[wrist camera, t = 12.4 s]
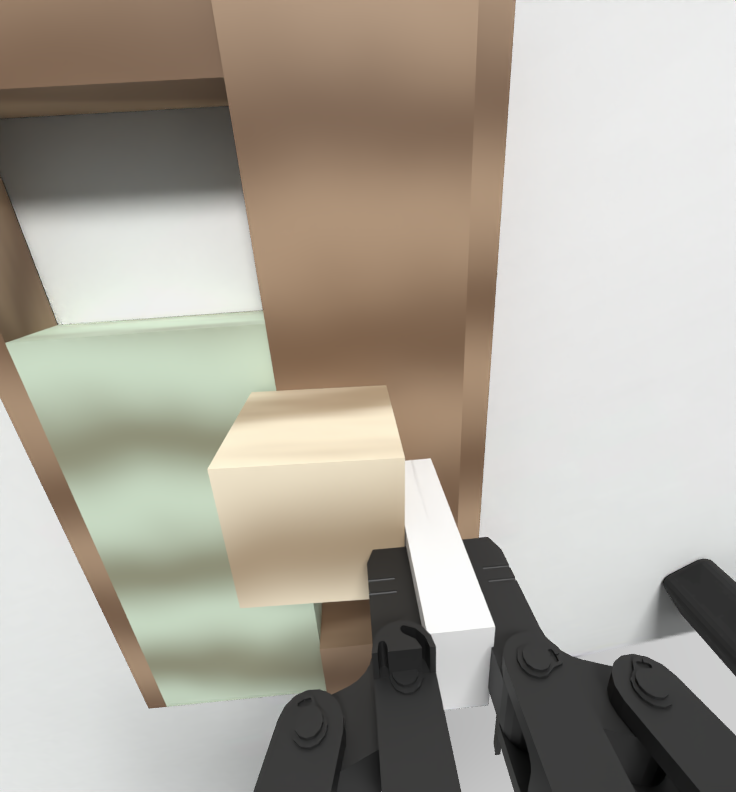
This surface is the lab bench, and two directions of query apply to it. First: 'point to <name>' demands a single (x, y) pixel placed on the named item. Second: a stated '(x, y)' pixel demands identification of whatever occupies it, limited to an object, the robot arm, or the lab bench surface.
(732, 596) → the walkie-talkie
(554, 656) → the robot arm
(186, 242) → the lab bench surface
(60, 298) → the lab bench surface
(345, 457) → the block
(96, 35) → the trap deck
